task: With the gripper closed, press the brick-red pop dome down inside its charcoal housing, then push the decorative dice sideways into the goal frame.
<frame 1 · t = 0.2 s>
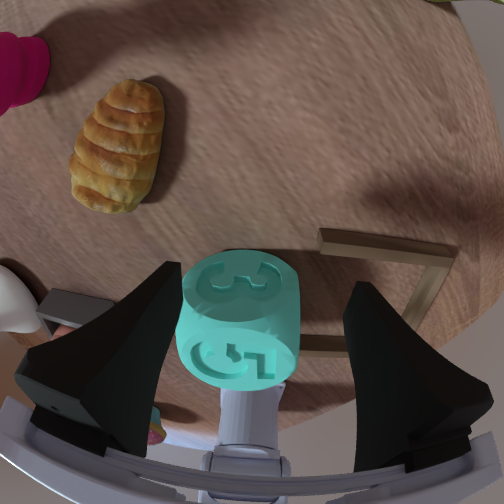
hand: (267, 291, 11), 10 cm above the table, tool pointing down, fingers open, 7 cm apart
decorative dice: (246, 285, 25), on the table
pepper mill: (28, 70, 14), on the table
cupcake: (147, 406, 42), on the table
pop dome: (73, 353, 25), point 5 cm above the table, slide at 0.0 cm
flower in vase: (21, 291, 28), on the table
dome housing: (90, 321, 29), on the table
pastry: (123, 147, 19), on the table
goal frame: (366, 298, 25), on the table
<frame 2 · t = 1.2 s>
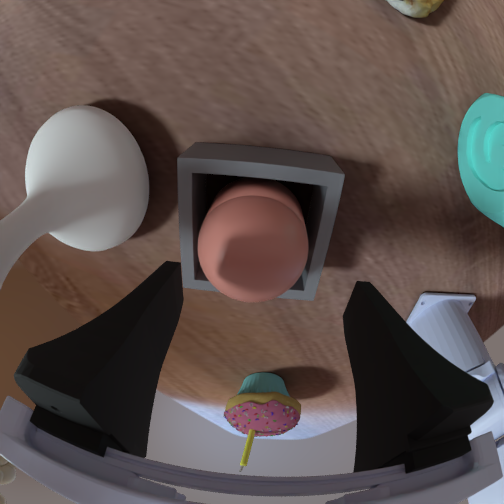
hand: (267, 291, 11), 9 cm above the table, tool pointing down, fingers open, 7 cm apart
decorative dice: (489, 146, 15), on the table
cupcake: (264, 380, 32), on the table
pop dome: (253, 246, 16), point 5 cm above the table, slide at 0.0 cm
flower in vase: (101, 172, 19), on the table
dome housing: (257, 208, 20), on the table
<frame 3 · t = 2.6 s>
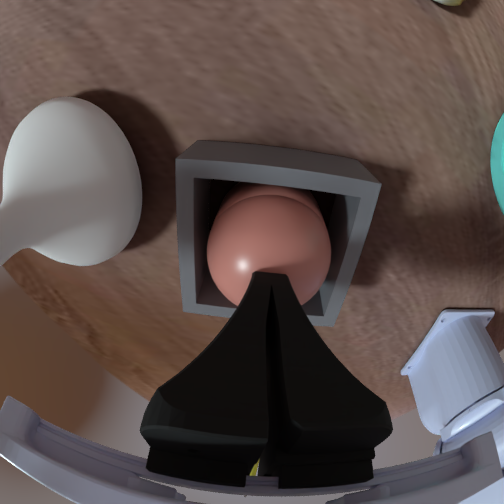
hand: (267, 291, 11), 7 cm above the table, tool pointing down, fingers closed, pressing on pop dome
pop dome: (269, 252, 14), point 4 cm above the table, slide at 1.4 cm, touching gripper
flower in vase: (88, 175, 16), on the table
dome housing: (269, 219, 17), on the table
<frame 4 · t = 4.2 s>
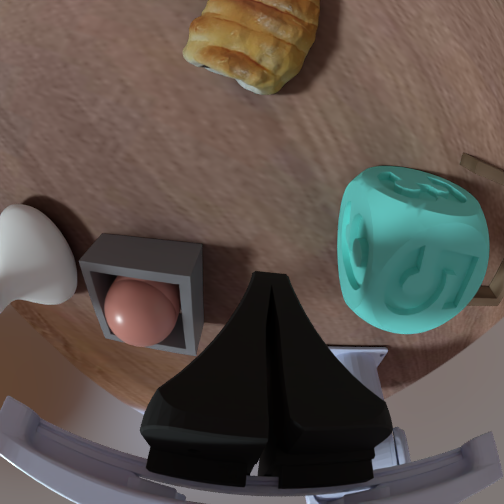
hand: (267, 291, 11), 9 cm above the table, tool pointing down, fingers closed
decorative dice: (387, 215, 20), on the table
pop dome: (140, 309, 21), point 4 cm above the table, slide at 1.5 cm
flower in vase: (48, 246, 23), on the table
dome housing: (154, 281, 24), on the table
pastry: (255, 29, 13), on the table
goal frame: (483, 237, 19), on the table
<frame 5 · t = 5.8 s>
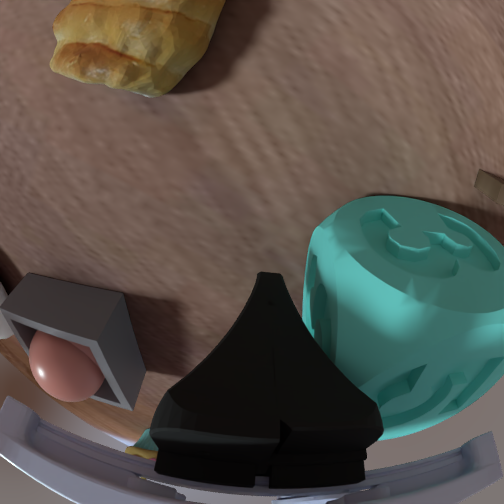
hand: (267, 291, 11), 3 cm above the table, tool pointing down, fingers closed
decorative dice: (377, 263, 14), on the table, touching gripper
cupcake: (163, 433, 31), on the table
pop dome: (67, 360, 16), point 4 cm above the table, slide at 1.5 cm
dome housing: (85, 326, 19), on the table
pastry: (152, 7, 8), on the table
goal frame: (496, 278, 14), on the table
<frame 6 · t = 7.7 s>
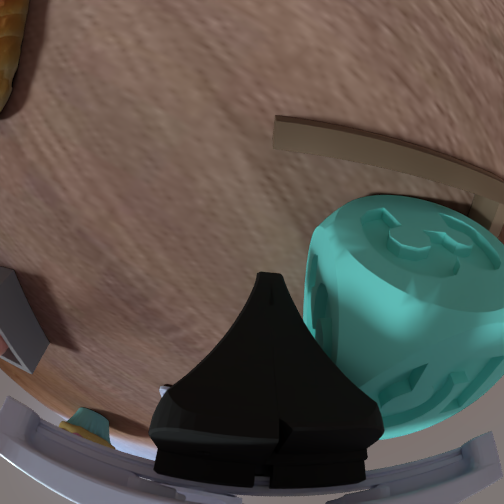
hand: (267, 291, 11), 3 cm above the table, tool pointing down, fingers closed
decorative dice: (378, 262, 14), on the table, touching gripper
cupcake: (95, 414, 31), on the table
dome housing: (4, 300, 19), on the table
goal frame: (373, 264, 14), on the table
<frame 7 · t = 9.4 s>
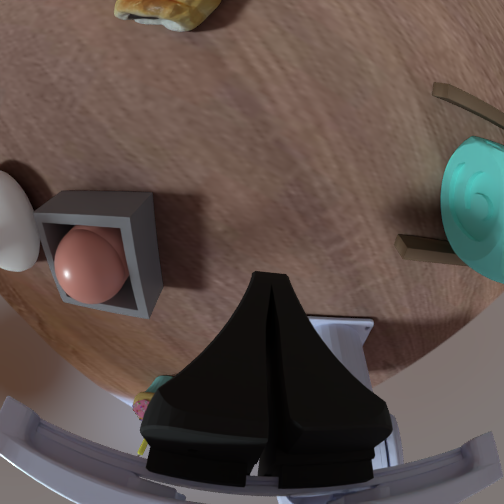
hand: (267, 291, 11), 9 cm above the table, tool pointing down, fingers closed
decorative dice: (475, 184, 17), on the table
cupcake: (173, 382, 34), on the table
pop dome: (91, 263, 19), point 4 cm above the table, slide at 1.5 cm
flower in vase: (17, 213, 21), on the table
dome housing: (110, 239, 22), on the table
goal frame: (473, 184, 17), on the table
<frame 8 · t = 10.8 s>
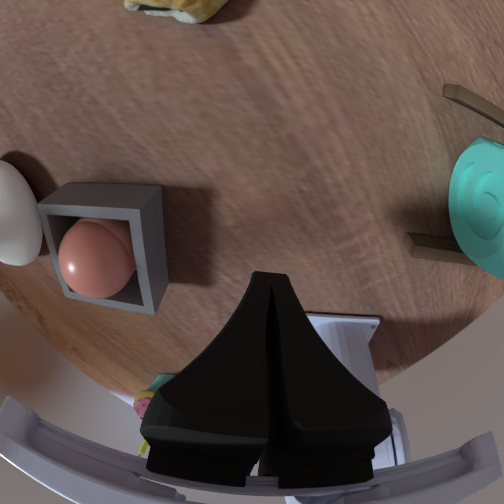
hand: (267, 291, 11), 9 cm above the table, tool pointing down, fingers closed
decorative dice: (481, 184, 17), on the table
cupcake: (174, 381, 34), on the table
pop dome: (96, 257, 19), point 4 cm above the table, slide at 1.5 cm
flower in vase: (19, 205, 21), on the table
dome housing: (115, 233, 22), on the table
goal frame: (480, 184, 17), on the table
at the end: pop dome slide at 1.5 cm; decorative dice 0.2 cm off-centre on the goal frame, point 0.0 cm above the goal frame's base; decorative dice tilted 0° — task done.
